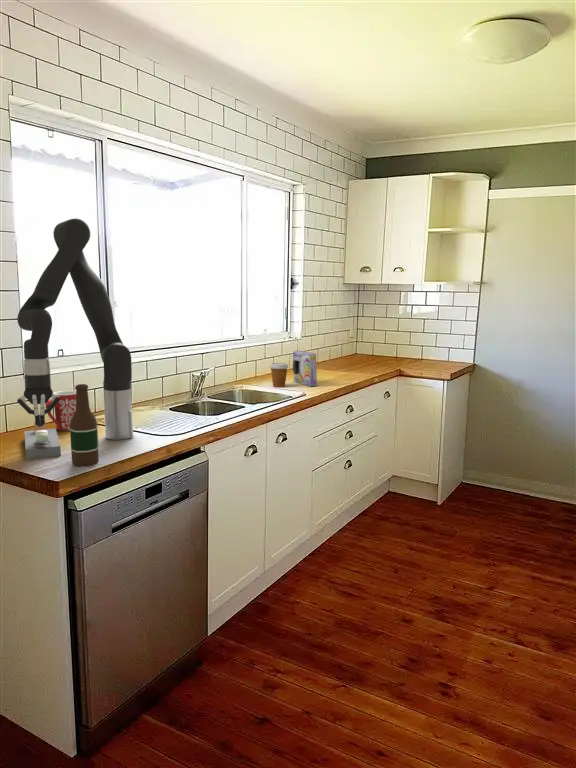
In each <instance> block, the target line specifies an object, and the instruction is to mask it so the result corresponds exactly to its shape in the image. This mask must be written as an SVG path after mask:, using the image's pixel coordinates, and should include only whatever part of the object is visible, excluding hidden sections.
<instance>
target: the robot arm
mask: <svg viewBox="0 0 576 768" xmlns="http://www.w3.org/2000/svg"><path fill="white" fill-rule="evenodd" d="M52 234H53V239H54V242H55V244H56V247H57V249H58V250H57V252H56V253H55V255H54V257H53V258H52V259H51V261H50V262H49V264H48V265H47V267H46V268H45V269H44V270H43V272H42V273H41V275H40V278H39V280H38V281H37V283H36V285H35V288H34V291H33V292H32V294H31V295H30V296H29V297H28V299H27V300H26V301H25V302H24V304H23V305H22V306H21V307H20V309H19V311H18V312H17V317H16V318H17V319H16V320H17V324H18V326H19V328H21V330H24V331H29V332H31V334H30V335H31V336H30V338H28V339H26V340H25V341H24V342H23V356H24V357H23V358H24V359H23V360H24V361H23V373H24V374H23V375H24V378H23V379H24V391H23V395H22V396H20V397H18V398H17V400H16V402H17V403H18V404H19V405H20V407H22V408H23V410H25V411H26V412H27V414H29V415H33V416H34V421H35V424H36V425H38V427H43V425H44V424H45V420H46V418H45V416H46V414H47V413H50V412H51V411H52V410H53V409H54V406H55V405H56V404H57V402H58V401H59V400H60V398H59V396H56V395H55V394H53V393H54V392H53V390H52V383H51V382H52V381H51V365H50V358H49V355H50V354H49V342H50V339H51V334H52V329H53V320H52V319H53V318H52V315H51V314H50V312H49V311H48V310H46V309H47V308H49V307H52V306H54V305H55V304H56V303H57V300H58V298H59V295H60V293H61V292H62V289H63V287H64V284H65V282H66V280H67V278H68V275H70V278H71V280H72V283H73V286H74V288H75V291H76V293H77V296H78V299H79V301H80V304H81V307H82V310H83V311H84V314H85V316H86V319H87V320H88V322H89V325H90V326H91V328H92V330H93V332H94V335H95V338H96V342H97V345H98V348H99V353H100V358H101V360H102V363H103V382H102V386H103V387H102V388H103V405H104V410H103V411H104V427H105V438H106V439H108V440H114V441H116V440H117V441H118V440H126V439H132V438H133V436H134V424H133V421H134V418H133V407H132V405H133V404H132V380H133V379H132V378H133V377H132V376H133V375H132V374H133V371H132V370H133V369H132V364H133V363H132V354H131V352H130V349H129V348H128V347H127V346H126V345H124V342H123V341H122V339H121V337H120V334H119V332H118V331H117V327H116V323H115V319H114V313H113V309H112V308H113V306H112V303H111V300H110V296H109V294H108V291H107V289H106V287H105V284H104V282H103V281H102V279H101V278H100V276H99V275H98V274H97V273H96V272H95V270H94V269H93V268H92V267H91V266H90V263H89V262H88V260H87V258H86V256H85V253H84V248H85V247H86V245H88V243H89V241H90V240H91V230H90V227H89V225H88V223H87V222H86V221H84V220H83V219H81V218H70V219H67V220H63V221H61V222H60V223H58V224H56V226H55V227H54V229H53V232H52ZM48 400H52V402H51V403H50V405H49V406H48V407H47V409H46V403H47V402H48ZM27 401H28V402H29V403H30V404H31V405H32V406H33V407H32V408H33V409H32V408H31V407H30V406H29V405H28V404H27V403H26V402H27ZM38 405H39V406H38ZM38 407H40V408H38ZM39 413H40V414H39ZM51 413H52V412H51Z"/></svg>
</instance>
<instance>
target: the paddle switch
mask: <svg viewBox="0 0 576 768" xmlns="http://www.w3.org/2000/svg"><path fill="white" fill-rule="evenodd" d="M33 425H34V430H35V432H36V431H38V430H46V429H47V420H46V419H45V424H44V425H43V427H38V425H36V424H35V420H33Z"/></svg>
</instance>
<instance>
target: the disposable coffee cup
mask: <svg viewBox="0 0 576 768" xmlns="http://www.w3.org/2000/svg"><path fill="white" fill-rule="evenodd" d="M269 367H270V373H271V380H272V387H273V388H284V387H285V388H286V381H287V373H288V368H289V366H288V363H285V362H273V363H270V366H269Z"/></svg>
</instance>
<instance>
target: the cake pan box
mask: <svg viewBox="0 0 576 768" xmlns="http://www.w3.org/2000/svg"><path fill="white" fill-rule="evenodd" d="M292 372H293V383H296V384H300V385H303V386H307V387H317V385H318V381H317V379H318V378H317V377H318V375H317V353H314V352H310V351H304V350H293V351H292Z"/></svg>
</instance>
